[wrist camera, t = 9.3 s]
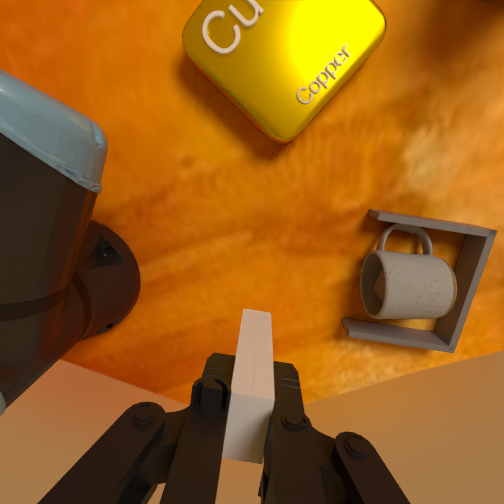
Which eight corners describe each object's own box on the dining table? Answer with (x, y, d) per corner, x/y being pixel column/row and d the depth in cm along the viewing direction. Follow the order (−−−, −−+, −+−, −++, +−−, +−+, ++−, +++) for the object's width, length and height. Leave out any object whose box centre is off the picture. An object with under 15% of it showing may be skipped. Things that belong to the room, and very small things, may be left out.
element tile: (282, 152, 36) (284, 149, 32) (183, 55, 34) (170, 37, 29) (380, 43, 33) (399, 22, 28) (278, -71, 31) (281, -114, 26)
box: (341, 323, 41) (348, 336, 37) (369, 208, 37) (379, 212, 34) (438, 338, 41) (453, 353, 37) (476, 225, 37) (497, 230, 34)
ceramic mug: (421, 304, 40) (457, 334, 32) (356, 302, 40) (377, 330, 33) (434, 222, 37) (477, 233, 30) (365, 219, 38) (390, 230, 30)
